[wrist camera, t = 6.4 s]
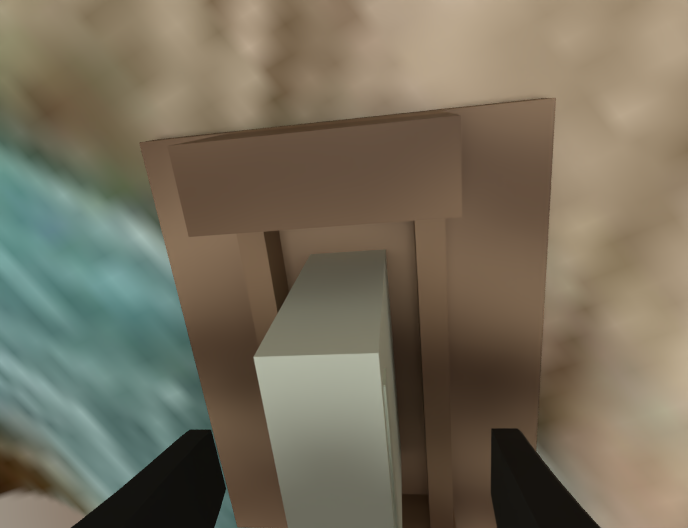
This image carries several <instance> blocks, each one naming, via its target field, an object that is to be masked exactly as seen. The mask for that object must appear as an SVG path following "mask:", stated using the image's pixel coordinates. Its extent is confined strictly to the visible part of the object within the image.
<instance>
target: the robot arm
mask: <svg viewBox="0 0 688 528" xmlns="http://www.w3.org/2000/svg"><path fill="white" fill-rule="evenodd" d="M225 490H226V487H225V483H224V479H223V475H222V471H221V467H220V463H219V459H218V455H217V451H216V447H215V443H214V439H213V435H212V432H211V430H189V431H187V432H186V433H185V434H184V435H182V436H181V437H180V438H179V439H178V440H176V441H175V442H174V443H173V444H172V445H171V446H169V447H168V448H167V449H166V450H165V451H164V452H162V453H161V454H160V455H159V456H158V457H157V458H156V459H154V460H153V461H152V462H151V463H150V464H149V465H147V466H146V467H145V468H144V469H143V470H142V471H140V472H139V473H138V474H137V475H136V476H135V477H133V478H132V479H131V480H130V481H129V482H128V483H126V484H125V485H124V486H123V487H122V488H120V489H119V490H118V491H117V492H116V493H114V494H113V495H112V496H111V497H109V498H108V499H107V500H106V501H104V502H103V503H102V504H101V505H99V506H98V507H97V508H95V509H94V510H93V511H92V512H90V513H89V514H88V515H87V516H85V517H84V518H83V519H82V520H80V521H79V522H78V523H77V524H75V525H74V526H73V527H71V528H214V527H215V524H216V520H217V517H218V514H219V511H220V508H221V504H222V501H223V497H224V494H225ZM491 498H492V503H493V509H494V514H495V520H496V525H497V528H600V526H599V525H598V524H597V523H596V522H595V521H594V520H593V519H592V518H591V517H590V516H589V515H588V513H587V512H586V511H585V510H584V509H583V508H582V507H581V506H580V504H579V503H578V502H577V501H576V500H575V499H574V497H573V496H572V495H571V494H570V493H569V492H568V491H567V489H566V488H565V487H564V486H563V485H562V484H561V482H560V481H559V480H558V479H557V477H556V476H555V475H554V474H553V473H552V471H551V470H550V469H549V467H548V466H547V465H546V464H545V462H544V461H543V460H542V459H541V457H540V456H539V455H538V453H537V452H536V451H535V449H534V448H533V447H532V445H531V444H530V443H529V441H528V440H527V439H526V437H525V436H524V434H523V433H522V432H521V431H520V430H519V429H518V428H491Z"/></svg>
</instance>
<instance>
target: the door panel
mask: <svg viewBox="0 0 688 528" xmlns="http://www.w3.org/2000/svg"><path fill="white" fill-rule="evenodd" d="M254 362H255V367H256V372H257V377H258V382H259V387H260V392H261V397H262V402H263V407H264V412H265V417H266V422H267V427H268V432H269V436H270V441H271V446H272V451H273V456H274V461H275V466H276V471H277V476H278V481H279V486H280V491H281V496H282V501H283V506H284V511H285V516H286V521H287V526H288V528H402V477H401V444H400V430H399V417H398V404H397V391H396V378H395V365H394V352H393V339H392V326H391V312H390V299H389V286H388V273H387V260H386V249H384V250H368V251H353V252H337V253H322V254H310V256H309V258H308V259H307V261H306V263H305V265H304V267H303V268H302V270H301V272H300V274H299V276H298V277H297V279H296V281H295V283H294V285H293V286H292V288H291V290H290V292H289V294H288V296H287V297H286V299H285V301H284V303H283V305H282V306H281V308H280V310H279V312H278V314H277V315H276V317H275V319H274V321H273V323H272V324H271V326H270V328H269V330H268V332H267V333H266V335H265V337H264V339H263V341H262V342H261V344H260V346H259V348H258V350H257V351H256V353H255V355H254Z"/></svg>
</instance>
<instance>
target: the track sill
mask: <svg viewBox="0 0 688 528" xmlns="http://www.w3.org/2000/svg"><path fill="white" fill-rule="evenodd" d="M555 103H556V98H541V99H532V100H523V101H513V102H504V103H495V104H485V105H476V106H467V107H457V108H448V109H439V110H429V111H420V112H411V113H401V114H392V115H383V116H373V117H364V118H355V119H345V120H336V121H327V122H317V123H308V124H299V125H289V126H280V127H271V128H261V129H252V130H242V131H233V132H224V133H214V134H205V135H196V136H186V137H177V138H168V139H158V140H152V141H146V142H140V147H141V151H142V155H143V159H144V163H145V167H146V171H147V175H148V178H149V182H150V186H151V190H152V194H153V198H154V202H155V206H156V210H157V214H158V218H159V222H160V225H161V229H162V233H163V237H164V241H165V245H166V249H167V253H168V257H169V261H170V265H171V269H172V273H173V276H174V280H175V284H176V288H177V292H178V296H179V300H180V304H181V308H182V312H183V316H184V320H185V323H186V327H187V331H188V335H189V339H190V343H191V347H192V351H193V355H194V359H195V363H196V367H197V370H198V374H199V378H200V382H201V386H202V390H203V394H204V398H205V402H206V406H207V410H208V414H209V417H210V421H211V425H212V429H213V433H214V437H215V441H216V445H217V449H218V453H219V457H220V461H221V464H222V468H223V472H224V476H225V480H226V484H227V488H228V492H229V496H230V500H231V504H232V508H233V511H234V515H235V519H236V523H237V527H248V528H288V526H287V521H286V516H285V511H284V506H283V501H282V496H281V491H280V486H279V481H278V476H277V471H276V466H275V461H274V456H273V451H272V446H271V441H270V436H269V432H268V427H267V422H266V417H265V412H264V407H263V402H262V397H261V392H260V387H259V382H258V377H257V372H256V367H255V362H254V355H255V353H256V351H257V350H258V348H259V346H260V344H261V342H262V341H263V339H264V337H265V335H266V333H267V332H268V330H269V328H270V326H271V324H272V323H273V321H274V319H275V317H276V315H277V314H278V312H279V310H280V308H281V306H282V305H283V303H284V301H285V299H286V297H287V296H288V294H289V292H290V290H291V288H292V286H293V285H294V283H295V281H296V279H297V277H298V276H299V274H300V272H301V270H302V268H303V267H304V265H305V263H306V261H307V259H308V258H309V256H310V254H322V253H337V252H353V251H368V250H384V249H386V260H387V273H388V286H389V299H390V312H391V326H392V339H393V352H394V365H395V378H396V391H397V404H398V417H399V430H400V444H401V477H402V528H497V525H496V520H495V514H494V509H493V503H492V498H491V428H518V429H519V430H520V431H521V432H522V433H523V434H524V436H525V437H526V439H527V440H528V441H529V443H530V444H531V445H532V447H533V448H534V449H535V451H536V444H537V426H538V408H539V390H540V372H541V354H542V336H543V318H544V300H545V283H546V265H547V247H548V229H549V211H550V193H551V175H552V157H553V139H554V121H555Z"/></svg>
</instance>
